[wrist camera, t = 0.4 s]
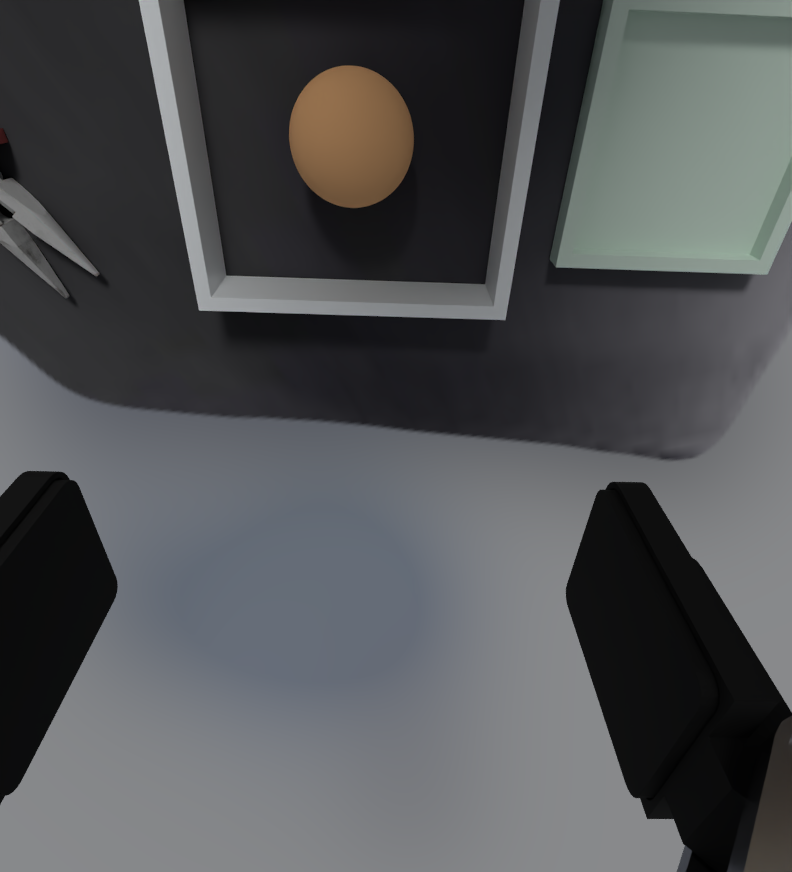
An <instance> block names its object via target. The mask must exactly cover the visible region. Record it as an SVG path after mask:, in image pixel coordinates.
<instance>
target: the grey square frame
mask: <svg viewBox="0 0 792 872" xmlns="http://www.w3.org/2000/svg"><path fill="white" fill-rule="evenodd" d="M559 2H560V0H525V2H524V9H523V16H522V23H521V30H520V38H519V45H518V52H517V59H516V66H515V73H514V81H513V88H512V95H511V102H510V109H509V116H508V123H507V131H506V138H505V145H504V152H503V159H502V166H501V174H500V181H499V188H498V195H497V202H496V209H495V216H494V224H493V231H492V238H491V245H490V252H489V259H488V267H487V274H486V281H485V284H463V283H433V282H403V281H373V280H343V279H313V278H283V277H253V276H226V270H225V263H224V257H223V251H222V244H221V238H220V231H219V225H218V218H217V212H216V206H215V199H214V193H213V186H212V180H211V173H210V167H209V161H208V154H207V148H206V141H205V135H204V128H203V122H202V116H201V109H200V103H199V96H198V90H197V83H196V77H195V71H194V64H193V58H192V51H191V45H190V39H189V32H188V26H187V19H186V13H185V6H184V0H139V4H140V9H141V14H142V19H143V24H144V29H145V35H146V40H147V45H148V50H149V55H150V60H151V65H152V71H153V76H154V81H155V86H156V91H157V96H158V101H159V107H160V112H161V117H162V122H163V127H164V132H165V137H166V143H167V148H168V153H169V158H170V163H171V168H172V173H173V179H174V184H175V189H176V194H177V199H178V204H179V210H180V215H181V220H182V225H183V230H184V235H185V240H186V246H187V251H188V256H189V261H190V266H191V271H192V276H193V282H194V287H195V292H196V297H197V302H198V307H199V311H231V312H262V313H294V314H326V315H358V316H390V317H422V318H453V319H485V320H506V314H507V308H508V302H509V296H510V290H511V284H512V278H513V273H514V267H515V261H516V255H517V249H518V243H519V237H520V231H521V226H522V220H523V214H524V208H525V202H526V196H527V190H528V184H529V179H530V173H531V167H532V161H533V155H534V149H535V143H536V137H537V132H538V126H539V120H540V114H541V108H542V102H543V96H544V90H545V85H546V79H547V73H548V67H549V61H550V55H551V49H552V43H553V38H554V32H555V26H556V20H557V14H558V8H559Z"/></svg>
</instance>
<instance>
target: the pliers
mask: <svg viewBox="0 0 792 872" xmlns="http://www.w3.org/2000/svg"><path fill="white" fill-rule="evenodd" d="M7 142H8V140H7V137H6V135H5V132H4V130H3V128H2V129H0V144H3V143H7ZM0 204H2V205H3V206H4V207H5V208H6V209H8V210H9V211H10V212H11V213H13V214H14V215H13V216H12V217H13V218H8V217H6V216H4V215H3V214H2V213H1V212H0V243H1V244H2V245H3V246H5V247H6V248H7V249H8V250H9V251H11V252H12V253H13V254H14V255H15V256H16V257H18V258H19V259H20V260H21V261H22V262H23V263H25V264H26V265H27V266H28V267H29V268H31V269H32V270H33V271H34V272H35V273H36V274H38V275H39V276H40V277H41V278H42V279H43V280H45V281H46V282H47V283H48V284H49V285H51V286H52V287H53V288H54V289H55V290H56V291H58V292H59V293H60V294H61V295H62V296H63V297H65V298H68V297H69V296H70V295H69V294H68V292H67V291H66V289H65V288H64V286H63V285H62V283H61V282H60V280H59V279H58V277H57V276H56V274H55V272H54V271H53V269H52V268H51V266H50V265H49V263H48V262H47V260H46V259H45V257H44V256H43V254H42V253H41V251H40V250H39V248H38V247H37V245H36V243H35V242H34V240H33V239H32V238H31V236H30V235H29V234H28V232H27V231H26V230H25V228H24V227H26V228H27V229H28V230H29V231H31V232H32V233H33V234H35V235H36V236H38V237H39V238H41V239H42V240H43V241H45V242H46V243H48V244H49V245H51V246H52V247H54V248H55V249H57V250H58V251H60V252H61V253H63V254H64V255H65V256H67V257H68V258H70V259H71V260H73V261H74V262H76V263H77V264H79V265H80V266H82V267H83V268H84V269H86V270H87V271H89V272H90V273H92V274H93V275H95V276H96V277H97V276H98V275H99V274H100V273H99V272H98V271H97V270H96V268H95V267H94V266H93V265H92V264H91V263H90V261H89V260H88V259H87V258H86V257H85V255H84V254H83V253H82V252H81V251H80V250H79V248H78V247H77V246H76V245H75V244H74V242H73V241H72V240H71V239H70V238H69V237H68V235H67V234H66V233H65V232H64V231H63V229H62V228H61V227H60V226H59V225H58V224H57V222H56V221H55V220H54V219H53V218H52V216H51V215H50V214H49V213H48V212H47V211H46V209H45V208H44V207H43V206H42V205H41V204H40V202H39V201H37V200H36V199H35V198H34V197H33V196H32V195H31V194H30V193H29V192H28V191H27V190H26V189H25V188H23V187H22V186H21V185H20V184H19V183H18V182H17V181H15V180H14V179H13V178H9V179H5V180H3V176H2V174H1V172H0ZM22 225H23V226H24V227H23V226H22Z"/></svg>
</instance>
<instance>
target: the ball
mask: <svg viewBox="0 0 792 872" xmlns="http://www.w3.org/2000/svg"><path fill="white" fill-rule="evenodd" d="M289 142H290V149H291V153H292V157H293V160H294V163H295V165H296V168H297V170H298V172H299V174H300V175H301V177H302V178H303V180H304V181H305V183H306V184H307V185H308V186H309V187H310V189H312V190H313V191H314V192H315V193H316V194H317V195H318V196H320V197H321V198H323V199H324V200H326V201H328V202H330V203H332V204H335V205H338V206H342V207H347V208H361V207H366V206H370V205H373V204H375V203H377V202H379V201H381V200H383V199H385V198H386V197H388V196H389V195H390V194H391V193H392V192H393V191H394V190H395V189H396V188H397V187H398V186H399V185H400V183H401V182H402V180H403V179H404V177H405V175H406V173H407V171H408V168H409V165H410V163H411V158H412V154H413V147H414V132H413V124H412V120H411V116H410V113H409V110H408V108H407V106H406V104H405V102H404V100H403V98H402V96H401V95H400V94H399V92H398V91H397V89H396V88H395V87H394V86H393V85H392V84H391V83H390V82H389V81H388V80H387V79H385V78H384V77H383V76H381V75H380V74H378V73H376V72H374V71H372V70H370V69H367V68H364V67H360V66H352V65H348V66H339V67H334V68H331V69H328V70H326V71H324V72H322V73H320V74H319V75H317V76H316V77H315V78H314V79H312V80H311V81H310V82H309V83H308V84H307V85H306V86H305V88H304V89H303V91H302V92H301V93H300V95H299V97H298V99H297V101H296V103H295V105H294V108H293V111H292V114H291V119H290V126H289Z"/></svg>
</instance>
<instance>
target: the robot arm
mask: <svg viewBox="0 0 792 872" xmlns="http://www.w3.org/2000/svg"><path fill="white" fill-rule="evenodd" d="M116 593H117V579H116V576H115V574H114V571H113V569H112V566H111V564H110V562H109V559H108V557H107V554H106V552H105V549H104V547H103V544H102V542H101V540H100V537H99V535H98V532H97V530H96V527H95V525H94V522H93V520H92V517H91V515H90V513H89V510H88V508H87V505H86V503H85V500H84V498H83V495H82V493H81V490H80V488H79V486H78V484H77V483H76V482H75V481H73V480H69V478H68V476H67V475H66V474H65V473H63V472H47V471H45V472H44V471H27V472H24V473H22V474H21V475H20V476H19V477H18V478H17V479H16V480H15V481H14V482H13V483H12V484H11V486H9V488H8V489H7V490H6V491H5V492H4V493H3V494H2V495H1V497H0V804H1V802H2V800H3V798H4V796H5V795H9V794H10V793H12V792H13V791H14V790H15V789H16V788H17V787H18V785H19V784H20V782H21V780H22V778H23V776H24V774H25V773H26V771H27V769H28V767H29V765H30V763H31V761H32V759H33V757H34V755H35V753H36V751H37V749H38V747H39V745H40V744H41V741H42V740H43V738H44V736H45V734H46V732H47V730H48V728H49V726H50V724H51V722H52V720H53V718H54V716H55V714H56V712H57V710H58V709H59V707H60V705H61V703H62V701H63V699H64V697H65V695H66V693H67V691H68V689H69V687H70V685H71V683H72V681H73V679H74V677H75V675H76V673H77V671H78V670H79V668H80V665H81V664H82V662H83V660H84V658H85V656H86V654H87V652H88V650H89V648H90V646H91V644H92V642H93V640H94V639H95V637H96V635H97V633H98V631H99V629H100V627H101V625H102V623H103V621H104V619H105V617H106V615H107V613H108V611H109V609H110V607H111V605H112V603H113V602H114V599H115V597H116ZM566 600H567V605H568V608H569V611H570V614H571V617H572V621H573V624H574V627H575V629H576V633H577V636H578V639H579V642H580V645H581V648H582V651H583V654H584V657H585V660H586V663H587V667H588V669H589V673H590V676H591V679H592V682H593V685H594V688H595V691H596V694H597V697H598V700H599V703H600V706H601V709H602V712H603V716H604V719H605V722H606V724H607V728H608V731H609V734H610V737H611V740H612V743H613V746H614V749H615V752H616V755H617V759H618V761H619V764H620V768H621V770H622V774H623V777H624V780H625V783H626V785H627V788H628V790H629V792H630V793H631V795H632V796H633V797H635V798H640V799H641V802H642V805H643V808H644V811H645V814H646V817H647V819H674V821H675V823H676V826H677V829H678V831H679V834H680V836H681V839H682V842H683V844H684V845H685V847H684V850H683V853H682V857H681V860H680V863H679V866H678V869H677V872H792V712H791V711H790V709H789V708H788V706H787V704H786V703H785V701H784V700H783V698H782V696H781V695H780V693H779V691H778V690H777V688H776V686H775V685H774V683H773V682H772V680H771V678H770V677H769V675H768V673H767V672H766V670H765V669H764V667H763V665H762V664H761V662H760V661H759V659H758V657H757V656H756V654H755V652H754V651H753V649H752V648H751V646H750V644H749V643H748V641H747V639H746V638H745V636H744V635H743V633H742V631H741V630H740V628H739V626H738V625H737V623H736V622H735V620H734V618H733V617H732V615H731V613H730V612H729V610H728V609H727V607H726V605H725V604H724V602H723V601H722V599H721V597H720V596H719V594H718V592H717V591H716V589H715V588H714V586H713V584H712V583H711V581H710V580H709V578H708V576H707V575H706V573H705V572H704V570H703V568H702V567H701V566H700V564H699V563H698V562H697V561H696V560H695V559H693V558H692V557H691V556H690V554H689V552H688V551H687V549H686V547H685V546H684V544H683V542H682V541H681V539H680V537H679V536H678V534H677V533H676V531H675V530H674V528H673V526H672V525H671V523H670V521H669V519H668V518H667V516H666V514H665V513H664V511H663V510H662V508H661V506H660V505H659V503H658V501H657V500H656V498H655V496H654V495H653V493H652V491H651V490H650V488H649V487H648V486H647V485H646V484H645V483H641V482H611V483H610V484H609V485H608V486H607V488H606V490H600V491H598V493H597V495H596V498H595V501H594V504H593V507H592V510H591V513H590V516H589V519H588V522H587V525H586V528H585V531H584V534H583V537H582V540H581V543H580V546H579V549H578V553H577V556H576V559H575V562H574V565H573V568H572V571H571V574H570V577H569V580H568V583H567V587H566Z"/></svg>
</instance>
